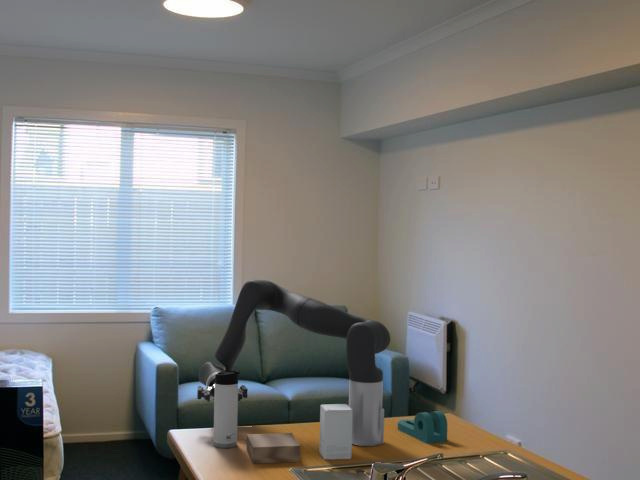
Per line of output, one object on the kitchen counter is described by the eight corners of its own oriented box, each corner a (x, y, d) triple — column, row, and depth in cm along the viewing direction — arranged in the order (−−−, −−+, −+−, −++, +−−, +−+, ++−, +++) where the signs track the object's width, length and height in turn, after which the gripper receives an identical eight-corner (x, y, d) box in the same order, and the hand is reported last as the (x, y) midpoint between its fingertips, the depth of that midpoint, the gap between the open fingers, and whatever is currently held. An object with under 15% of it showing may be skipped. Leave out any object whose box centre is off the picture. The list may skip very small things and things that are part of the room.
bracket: (447, 442, 211) (447, 414, 211) (426, 444, 209) (427, 415, 208) (412, 426, 228) (413, 400, 228) (393, 428, 225) (394, 402, 225)
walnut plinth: (291, 447, 201) (291, 432, 201) (300, 461, 189) (300, 445, 189) (246, 449, 198) (246, 434, 198) (252, 463, 187) (252, 447, 187)
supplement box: (352, 459, 192) (353, 409, 192) (323, 460, 191) (324, 410, 191) (346, 451, 200) (347, 403, 199) (318, 451, 198) (319, 403, 198)
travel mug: (233, 449, 198) (235, 373, 198) (209, 447, 200) (211, 371, 200) (241, 442, 205) (242, 369, 204) (217, 440, 206) (219, 367, 206)
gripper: (195, 373, 224) (198, 384, 209) (243, 373, 227) (250, 383, 212) (195, 399, 224) (198, 411, 209) (242, 397, 227) (249, 410, 212)
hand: (224, 397), depth 210 cm, fingers open, 8 cm apart
